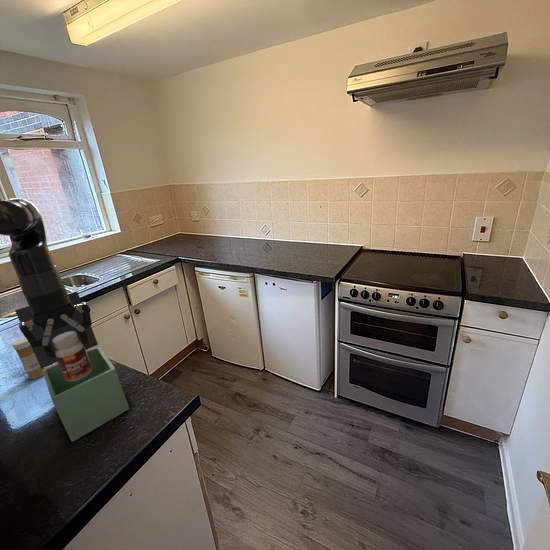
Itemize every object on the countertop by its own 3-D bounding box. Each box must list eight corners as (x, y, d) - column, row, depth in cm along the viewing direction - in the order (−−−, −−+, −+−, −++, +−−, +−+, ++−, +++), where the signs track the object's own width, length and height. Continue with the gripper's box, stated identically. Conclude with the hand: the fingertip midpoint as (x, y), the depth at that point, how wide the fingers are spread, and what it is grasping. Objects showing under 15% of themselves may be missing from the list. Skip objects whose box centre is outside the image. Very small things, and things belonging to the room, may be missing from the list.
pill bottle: (72, 385, 73) (55, 346, 69) (61, 377, 76) (44, 340, 72) (97, 370, 78) (83, 333, 74) (85, 363, 81) (71, 328, 77)
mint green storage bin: (129, 408, 80) (115, 368, 75) (71, 442, 72) (51, 399, 67) (111, 382, 91) (98, 345, 86) (60, 408, 83) (41, 369, 78)
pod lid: (77, 291, 82) (76, 290, 82) (14, 310, 73) (14, 309, 74) (98, 344, 86) (97, 344, 86) (41, 368, 77) (41, 368, 78)
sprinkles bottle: (46, 368, 101) (31, 334, 96) (45, 376, 97) (29, 341, 92) (29, 374, 99) (13, 340, 94) (28, 382, 95) (10, 346, 90)
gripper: (76, 275, 75) (96, 332, 81) (3, 295, 66) (32, 357, 72) (83, 281, 70) (104, 342, 76) (4, 304, 61) (36, 371, 67)
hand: (69, 349), depth 74 cm, fingers closed on pill bottle, 6 cm apart
